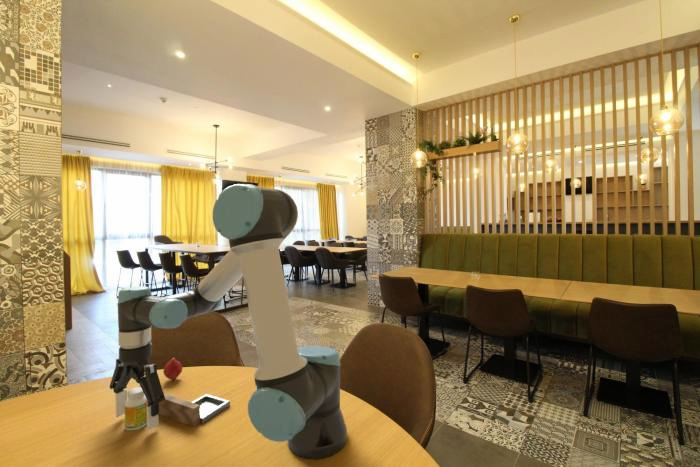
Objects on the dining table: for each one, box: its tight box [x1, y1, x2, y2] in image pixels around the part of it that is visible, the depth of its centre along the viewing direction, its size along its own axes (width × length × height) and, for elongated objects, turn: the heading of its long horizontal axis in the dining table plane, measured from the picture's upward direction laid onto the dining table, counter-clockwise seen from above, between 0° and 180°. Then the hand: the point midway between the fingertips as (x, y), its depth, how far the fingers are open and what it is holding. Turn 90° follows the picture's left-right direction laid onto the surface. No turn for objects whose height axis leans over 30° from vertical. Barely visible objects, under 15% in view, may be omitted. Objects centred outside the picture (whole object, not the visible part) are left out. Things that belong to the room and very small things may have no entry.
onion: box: [163, 357, 183, 381], centre depth 116 cm, size 6×6×8 cm
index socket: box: [191, 393, 231, 425], centre depth 97 cm, size 10×10×2 cm
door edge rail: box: [139, 385, 201, 428], centre depth 94 cm, size 22×3×7 cm, turn 65°
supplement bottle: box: [124, 386, 148, 431], centre depth 90 cm, size 5×5×10 cm
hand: (136, 420), depth 90 cm, fingers open, 13 cm apart
